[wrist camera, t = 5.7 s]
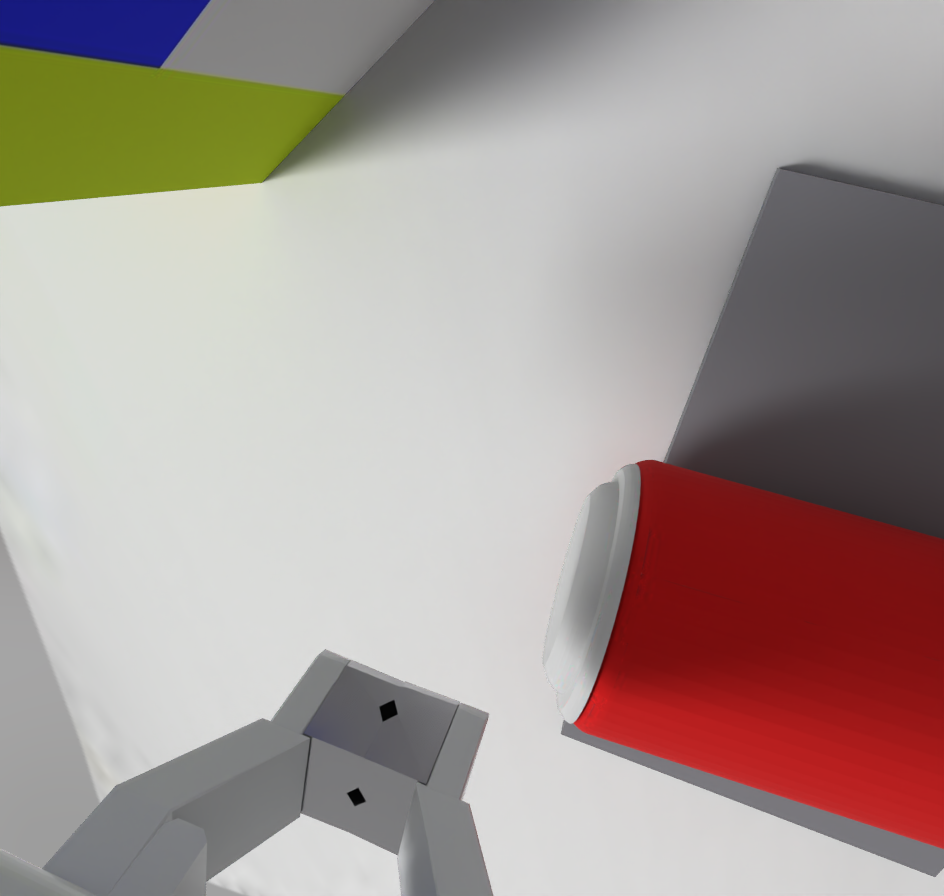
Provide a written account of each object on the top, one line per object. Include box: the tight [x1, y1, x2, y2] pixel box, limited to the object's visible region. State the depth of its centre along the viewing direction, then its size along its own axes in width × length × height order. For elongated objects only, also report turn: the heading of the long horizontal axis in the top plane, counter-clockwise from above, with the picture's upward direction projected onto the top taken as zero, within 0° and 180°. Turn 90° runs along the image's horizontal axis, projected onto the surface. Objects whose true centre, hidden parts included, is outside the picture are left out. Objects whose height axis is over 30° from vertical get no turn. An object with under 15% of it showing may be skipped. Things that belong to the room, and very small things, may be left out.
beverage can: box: [543, 460, 944, 849], centre depth 14 cm, size 6×6×12 cm
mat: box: [561, 168, 944, 877], centre depth 17 cm, size 18×12×1 cm, turn 168°
